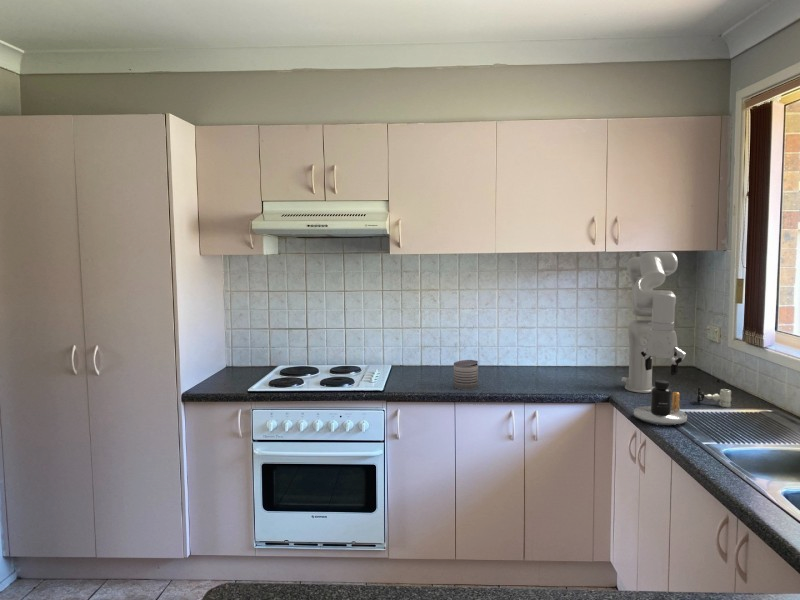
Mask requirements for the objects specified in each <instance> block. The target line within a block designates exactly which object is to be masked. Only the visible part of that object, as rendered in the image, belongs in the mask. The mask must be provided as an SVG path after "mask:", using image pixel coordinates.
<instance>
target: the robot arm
mask: <svg viewBox="0 0 800 600" xmlns="http://www.w3.org/2000/svg"><path fill="white" fill-rule="evenodd" d="M678 262H679V261H678V257H677V255H676V254H675V252H672V251H646V252H644V253H642V254H640V255H639V256H634V257H631V258H629V259H628V260H627V265H626V270H627V274H628V277H629V280H630V284H631V311H632V315H634V316H636V317H641V318H643V317H645V318H646V317H647V318H650V317H651V319H635V320H631V321H630V322H629V323H628V325H627V334H628V341H629V345H628V346H629V357H628V358H629V359H628V360H629V361H628V377H625V376H622V377H621V383H625V386H624V388H625V390H626V391H629V392H632V393H633V392H634V393H638V394H639V393H643V394H648V393H652V389H653V388H654V387H655V386H653V382H652V381H653V358H657V359H658V358H660V359H664V360H670V362H671V363H672V364H671V366H670V367H671V368H670V375H671V376H676V375H678V372H679V364H680V363H682V362H683V361H684V359H685V358H686V356H687V353H686V352H685V351H683V350H682V349H681V348H679V346H678V337H677V333H676V331H675V310H676V305H677V296H676V294H675V293H674V292H673V291H671V290H666V289H665V290H659V289H657V290H656V289H655V288H658V287H659V286H661V285H663V284H664V283H665V281H666V277H668V276H670V275H672V274H674V273H675V272H676V271H677V269H678V265H679V264H678ZM654 289H655V290H654ZM678 355H679V357H677V356H678Z"/></svg>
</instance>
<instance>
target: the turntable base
mask: <svg viewBox="0 0 800 600" xmlns="http://www.w3.org/2000/svg"><path fill="white" fill-rule="evenodd" d="M639 421H641V422H644V423H646V422H647V421H644V420H641V419H639ZM649 423H652V422H647V423H646V424H649ZM653 424H658V423H652V424H651V425H653ZM659 425H667V426H666V427H672V426H671V425H674V424H658V425H657V426H659Z"/></svg>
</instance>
